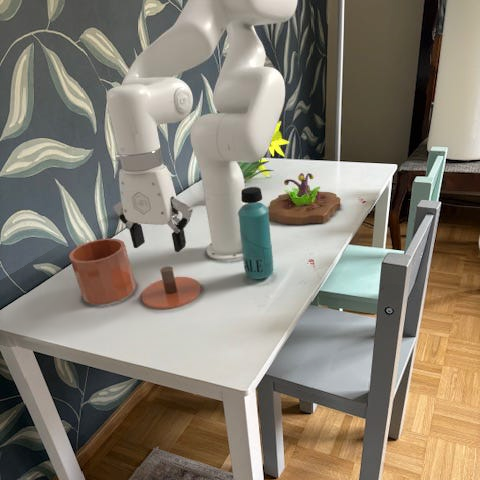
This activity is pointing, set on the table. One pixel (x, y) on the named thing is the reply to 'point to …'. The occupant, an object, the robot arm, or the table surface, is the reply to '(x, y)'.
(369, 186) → the table surface
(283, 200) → the plant
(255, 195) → the beverage bottle
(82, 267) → the canister
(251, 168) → the daffodil flowers
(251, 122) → the robot arm
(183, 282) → the lid
